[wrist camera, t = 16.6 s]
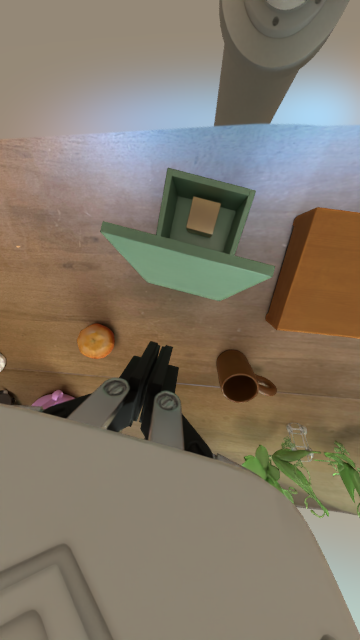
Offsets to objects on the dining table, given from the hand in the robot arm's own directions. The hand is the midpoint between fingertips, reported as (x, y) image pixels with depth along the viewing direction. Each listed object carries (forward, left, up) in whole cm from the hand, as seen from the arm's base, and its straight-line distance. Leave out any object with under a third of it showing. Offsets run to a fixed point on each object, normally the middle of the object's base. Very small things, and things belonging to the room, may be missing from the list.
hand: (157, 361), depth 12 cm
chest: (-10, 0, -27) cm, 29 cm away
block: (-14, 0, -27) cm, 30 cm away
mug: (+14, +18, -28) cm, 36 cm away
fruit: (+16, -17, -28) cm, 36 cm away
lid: (-5, 0, -11) cm, 12 cm away
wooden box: (-11, +35, -28) cm, 46 cm away
